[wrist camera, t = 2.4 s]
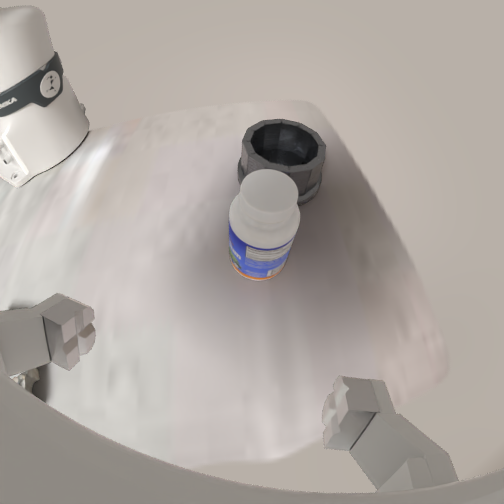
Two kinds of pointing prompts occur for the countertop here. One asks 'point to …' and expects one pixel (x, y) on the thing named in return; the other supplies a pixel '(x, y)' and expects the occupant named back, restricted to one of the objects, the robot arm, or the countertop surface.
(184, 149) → the countertop surface
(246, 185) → the pill bottle
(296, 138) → the cup holder
